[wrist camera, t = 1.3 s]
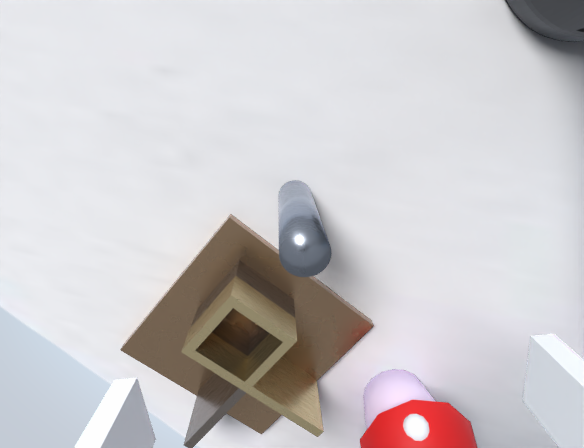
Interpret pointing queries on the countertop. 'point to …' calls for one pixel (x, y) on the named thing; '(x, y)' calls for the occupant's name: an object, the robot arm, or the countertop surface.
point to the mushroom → (410, 416)
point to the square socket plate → (246, 335)
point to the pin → (301, 232)
